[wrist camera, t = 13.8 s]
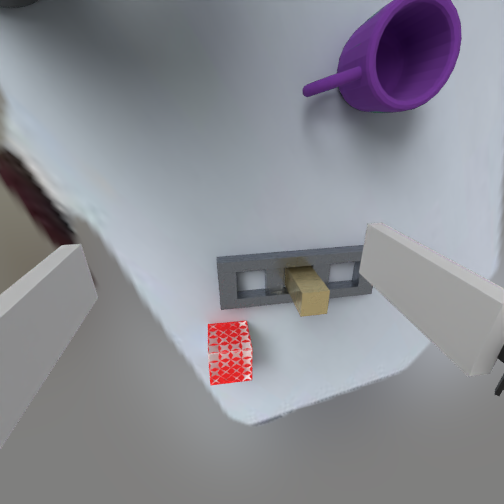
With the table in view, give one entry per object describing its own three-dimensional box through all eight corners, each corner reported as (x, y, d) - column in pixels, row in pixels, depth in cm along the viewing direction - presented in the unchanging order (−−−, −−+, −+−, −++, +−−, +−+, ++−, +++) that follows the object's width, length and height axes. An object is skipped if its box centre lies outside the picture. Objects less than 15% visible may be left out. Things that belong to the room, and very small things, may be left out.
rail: (220, 301, 51) (220, 309, 49) (216, 257, 47) (217, 263, 45) (364, 287, 55) (371, 293, 53) (372, 244, 51) (380, 249, 49)
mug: (403, 9, 36) (468, -31, 27) (405, 101, 41) (461, 93, 32) (282, 50, 36) (307, 23, 27) (299, 137, 41) (325, 139, 32)
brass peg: (284, 284, 52) (300, 316, 43) (285, 263, 50) (302, 293, 41) (306, 282, 52) (326, 313, 44) (308, 261, 51) (329, 290, 42)
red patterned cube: (246, 349, 58) (252, 380, 51) (210, 353, 57) (210, 385, 49) (246, 320, 54) (252, 348, 47) (207, 323, 53) (207, 353, 46)
